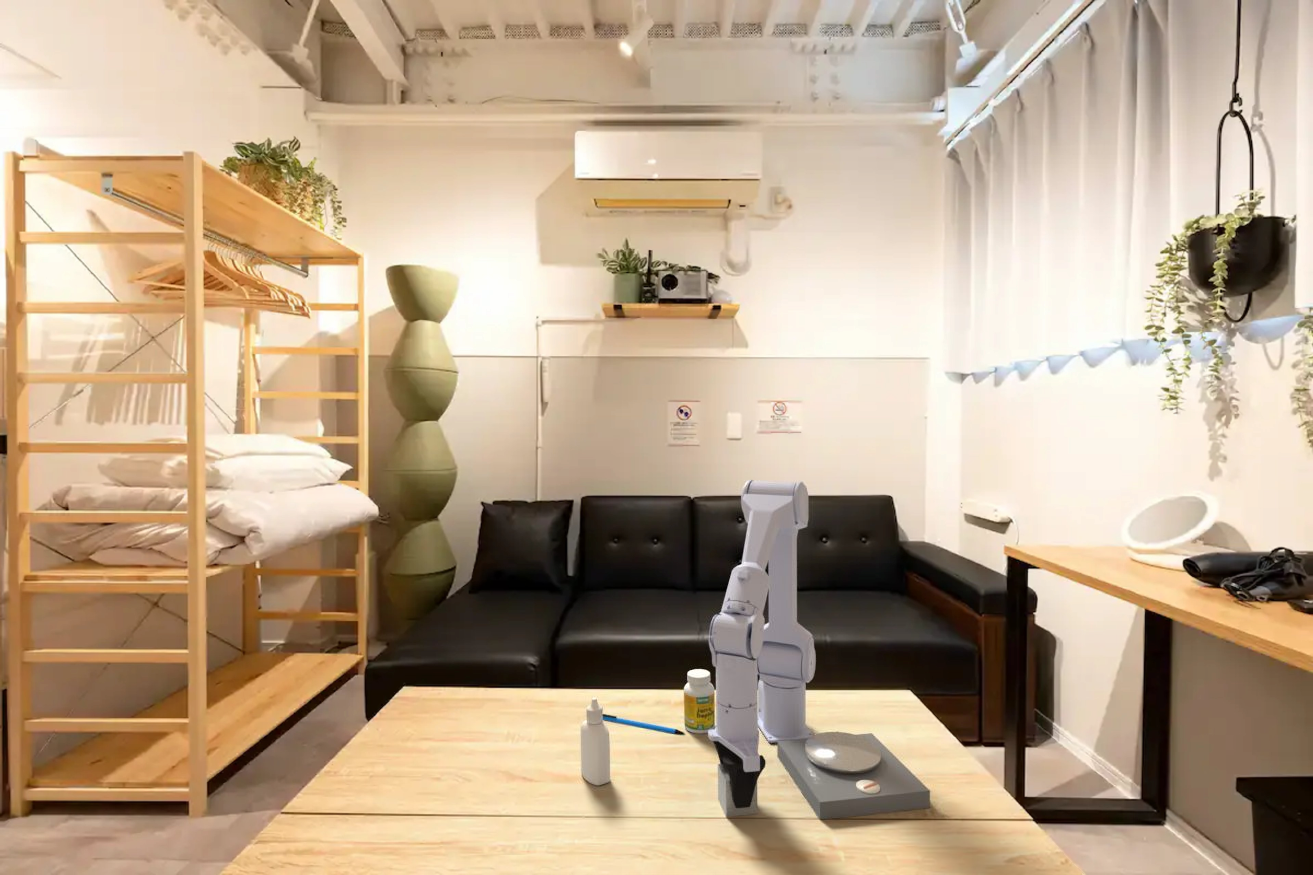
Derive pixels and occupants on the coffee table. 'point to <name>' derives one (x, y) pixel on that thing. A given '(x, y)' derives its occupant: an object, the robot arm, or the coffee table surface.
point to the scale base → (854, 784)
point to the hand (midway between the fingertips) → (737, 795)
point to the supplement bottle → (699, 702)
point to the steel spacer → (726, 796)
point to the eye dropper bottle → (595, 746)
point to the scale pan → (843, 752)
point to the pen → (641, 724)
